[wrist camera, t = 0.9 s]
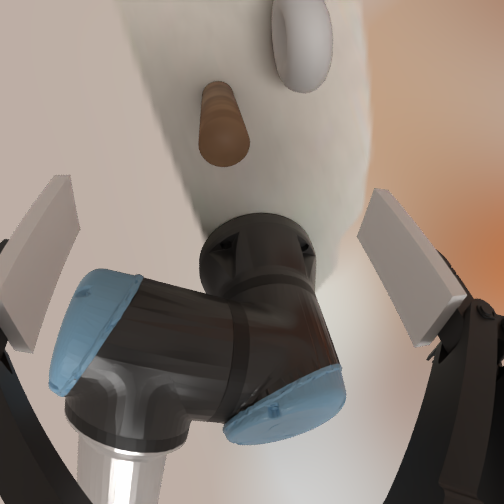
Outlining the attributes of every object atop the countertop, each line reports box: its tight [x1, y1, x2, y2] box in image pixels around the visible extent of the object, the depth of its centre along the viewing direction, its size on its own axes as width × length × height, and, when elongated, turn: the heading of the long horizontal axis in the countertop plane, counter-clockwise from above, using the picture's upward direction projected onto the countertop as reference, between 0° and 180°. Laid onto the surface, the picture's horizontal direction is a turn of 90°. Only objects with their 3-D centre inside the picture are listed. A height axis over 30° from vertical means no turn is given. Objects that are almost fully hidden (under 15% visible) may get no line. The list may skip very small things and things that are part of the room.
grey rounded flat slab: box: [271, 0, 333, 93], centre depth 22 cm, size 10×4×10 cm, turn 4°
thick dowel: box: [199, 81, 250, 167], centre depth 24 cm, size 3×3×14 cm
